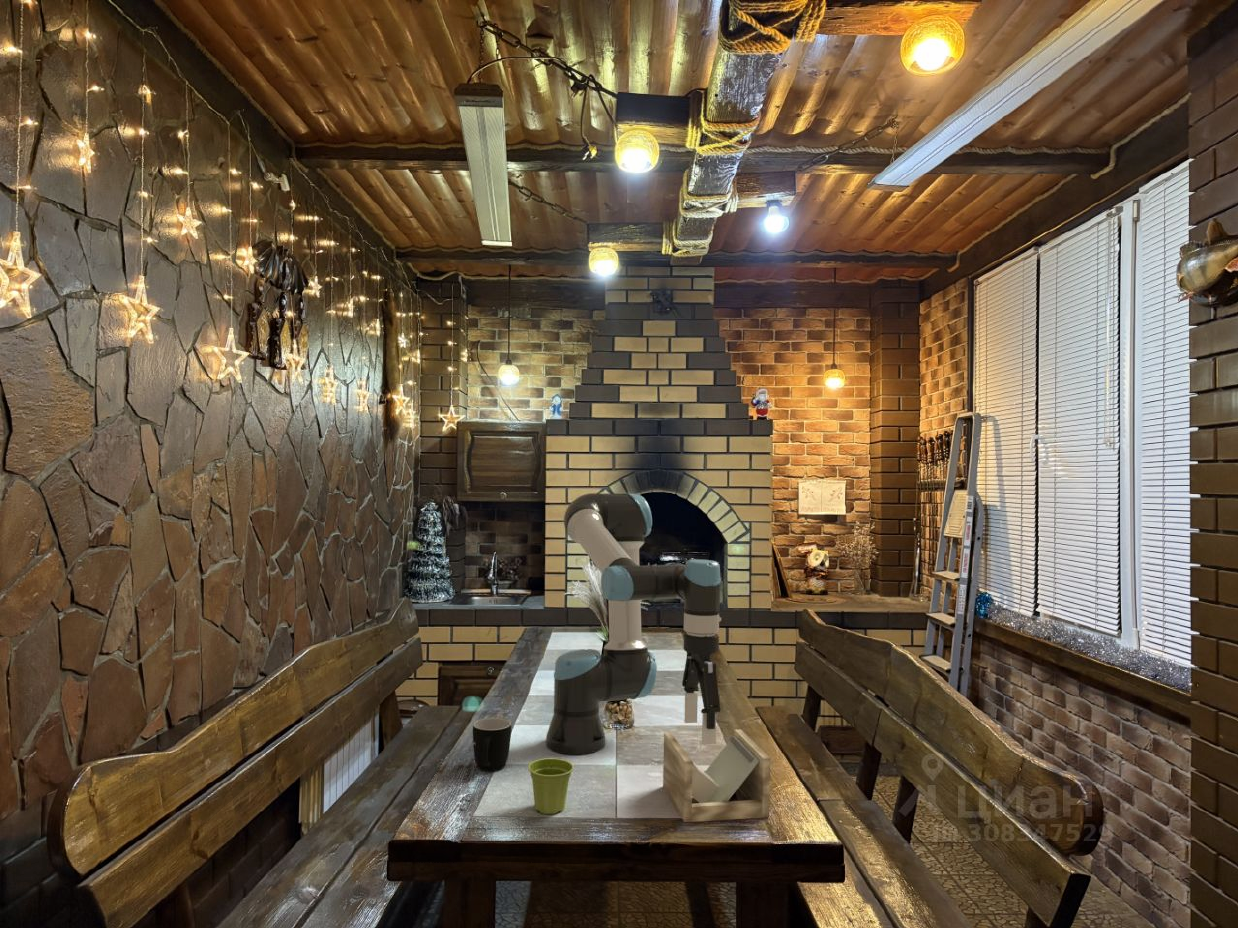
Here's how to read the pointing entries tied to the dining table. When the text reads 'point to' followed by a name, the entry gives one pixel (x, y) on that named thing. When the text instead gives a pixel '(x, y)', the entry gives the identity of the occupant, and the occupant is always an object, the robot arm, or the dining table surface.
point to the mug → (491, 743)
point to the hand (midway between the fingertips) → (699, 732)
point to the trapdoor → (730, 769)
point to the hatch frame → (680, 793)
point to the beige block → (702, 785)
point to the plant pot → (550, 783)
